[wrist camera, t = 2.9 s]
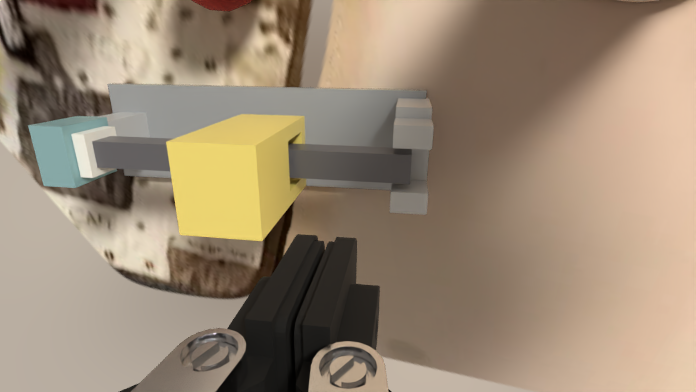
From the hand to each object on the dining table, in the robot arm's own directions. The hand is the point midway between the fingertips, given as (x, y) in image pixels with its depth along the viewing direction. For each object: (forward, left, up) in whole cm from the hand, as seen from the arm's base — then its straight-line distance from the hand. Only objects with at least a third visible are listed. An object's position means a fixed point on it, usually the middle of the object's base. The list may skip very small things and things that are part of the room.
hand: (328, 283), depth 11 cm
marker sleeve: (+6, 0, -14) cm, 16 cm away
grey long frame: (+8, 0, -19) cm, 20 cm away
